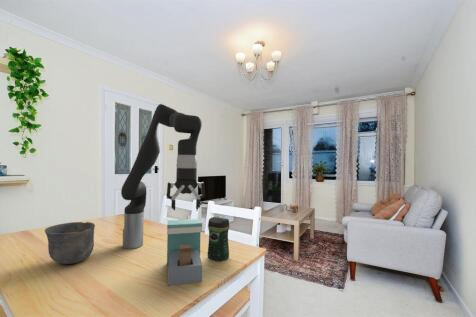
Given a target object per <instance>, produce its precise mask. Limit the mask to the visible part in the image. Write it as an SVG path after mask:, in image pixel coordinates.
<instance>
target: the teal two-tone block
mask: <svg viewBox="0 0 476 317" xmlns="http://www.w3.org/2000/svg"><path fill="white" fill-rule="evenodd" d="M166 226H167V227H166V231H167V232H166V235H167V238H166V239H167V242H166V243H167V244H166V246H167V248H166V265H167V266H169V252H170V251H179V250H180V245H185V244H190V245H191V249H198V250H199V254H200V255H201V233H202V232H203V222H202V220H201V218H187V219H170V220H167V224H166Z"/></svg>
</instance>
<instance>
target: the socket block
mask: <svg viewBox="0 0 476 317" xmlns="http://www.w3.org/2000/svg"><path fill="white" fill-rule="evenodd" d="M179 258H180V250H179V251H170V252H169V265H168V268H167V270H168V271H167V273H168V274H167V276H168V277H167V285H168V286H175V285H176V286H177V285H182V284H183V285H184V284H192V283H201V282H203V263H202V259H201V253H200V254H199V250H198V249H191V265H183V266H179Z"/></svg>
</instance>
